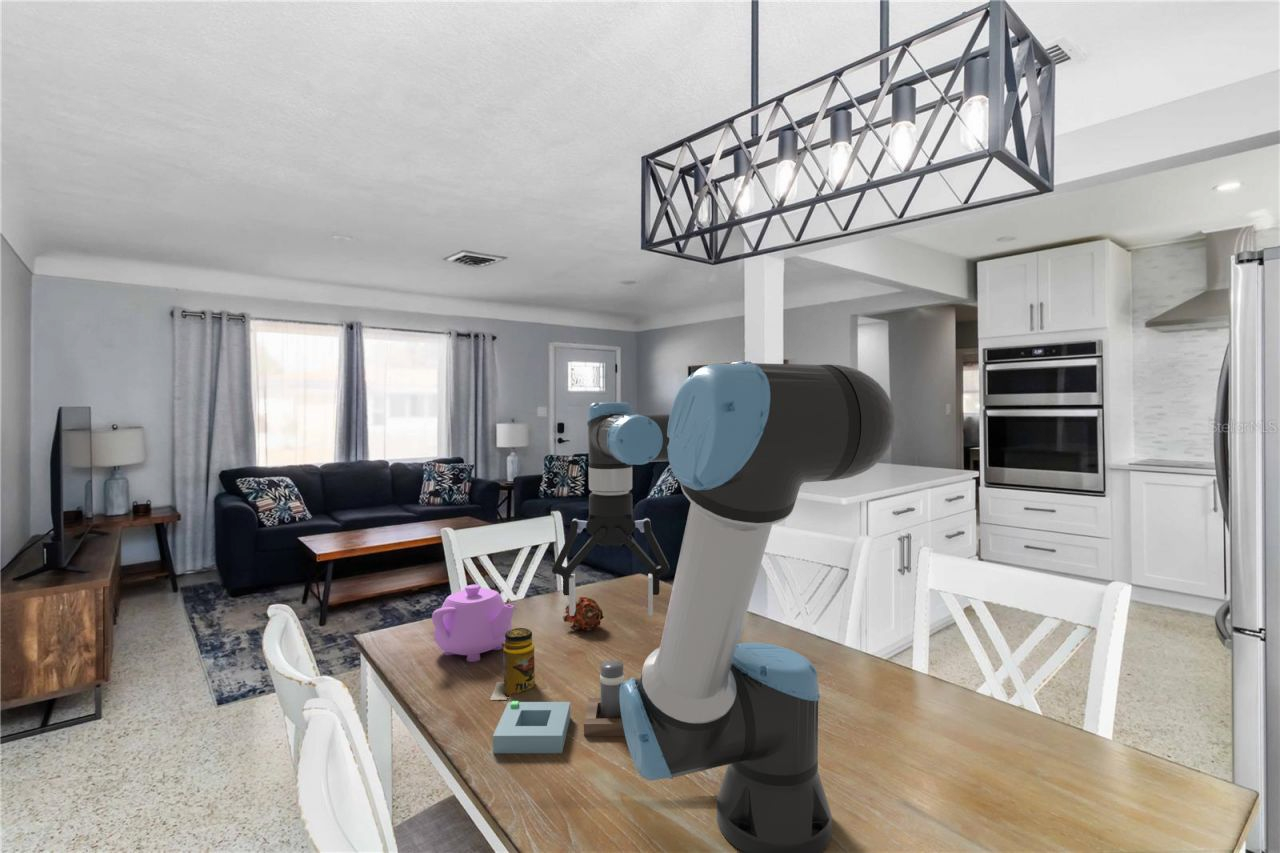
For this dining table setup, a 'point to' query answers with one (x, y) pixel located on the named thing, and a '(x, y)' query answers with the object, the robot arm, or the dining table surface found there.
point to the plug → (611, 688)
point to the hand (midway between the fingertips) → (611, 613)
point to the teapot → (472, 622)
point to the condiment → (516, 664)
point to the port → (532, 727)
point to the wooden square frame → (601, 721)
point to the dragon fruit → (585, 614)
